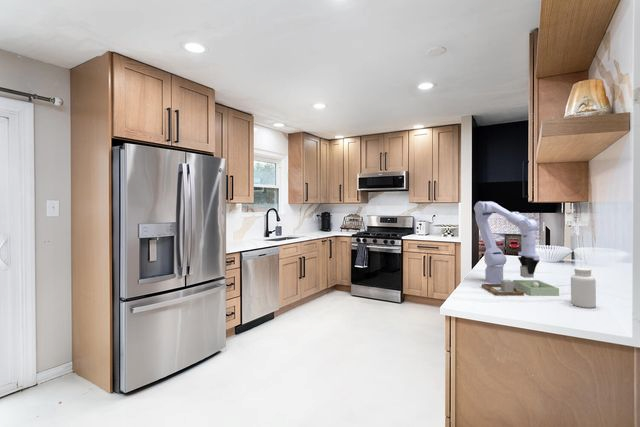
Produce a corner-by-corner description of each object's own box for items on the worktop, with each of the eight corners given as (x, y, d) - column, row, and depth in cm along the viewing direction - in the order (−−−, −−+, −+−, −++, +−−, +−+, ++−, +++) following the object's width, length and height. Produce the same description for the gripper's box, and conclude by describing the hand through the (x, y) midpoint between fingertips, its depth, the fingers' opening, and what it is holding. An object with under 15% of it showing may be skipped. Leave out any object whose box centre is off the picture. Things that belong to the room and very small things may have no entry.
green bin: (512, 288, 163) (512, 280, 163) (538, 288, 162) (538, 280, 162) (530, 296, 147) (530, 288, 147) (559, 297, 146) (559, 288, 146)
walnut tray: (481, 287, 164) (481, 283, 164) (506, 288, 163) (506, 284, 163) (496, 296, 148) (496, 292, 148) (523, 296, 147) (523, 292, 147)
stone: (500, 290, 158) (500, 279, 158) (509, 290, 158) (509, 279, 157) (504, 292, 154) (504, 281, 154) (513, 292, 154) (513, 281, 153)
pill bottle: (569, 301, 140) (569, 266, 139) (593, 304, 135) (593, 268, 135) (572, 306, 133) (572, 269, 132) (597, 309, 129) (597, 271, 128)
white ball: (530, 287, 161) (530, 281, 161) (537, 287, 161) (537, 281, 161) (534, 288, 158) (534, 282, 158) (540, 288, 158) (540, 282, 158)
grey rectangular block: (520, 275, 159) (520, 265, 159) (529, 275, 159) (528, 265, 159) (524, 277, 155) (524, 267, 155) (533, 277, 155) (533, 267, 155)
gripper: (512, 243, 164) (512, 269, 165) (527, 246, 150) (528, 276, 150) (526, 242, 164) (526, 269, 164) (544, 246, 149) (544, 276, 150)
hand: (528, 272), depth 157 cm, fingers closed on grey rectangular block, 4 cm apart
